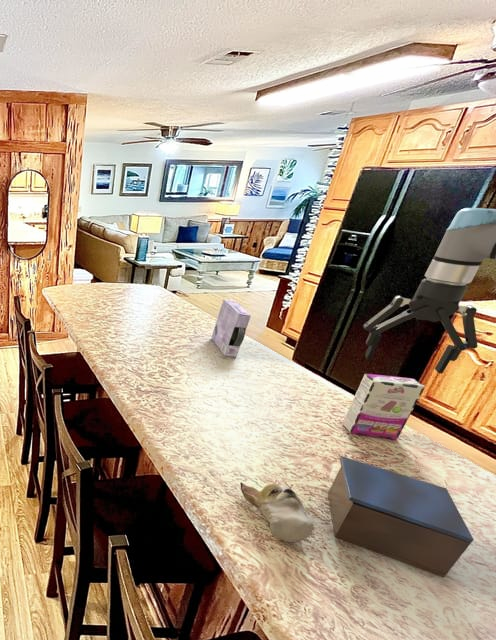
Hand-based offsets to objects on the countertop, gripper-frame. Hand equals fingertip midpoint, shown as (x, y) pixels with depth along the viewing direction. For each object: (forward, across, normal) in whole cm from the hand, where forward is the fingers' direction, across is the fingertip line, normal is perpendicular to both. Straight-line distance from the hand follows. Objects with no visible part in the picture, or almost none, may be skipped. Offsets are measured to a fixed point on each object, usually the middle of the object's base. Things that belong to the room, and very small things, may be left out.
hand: (401, 364), depth 97 cm
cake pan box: (+21, +40, -40) cm, 60 cm away
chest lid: (+12, +4, +41) cm, 43 cm away
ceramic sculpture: (+21, +22, +49) cm, 58 cm away
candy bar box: (+21, 0, 0) cm, 21 cm away
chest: (+21, +4, +41) cm, 46 cm away
